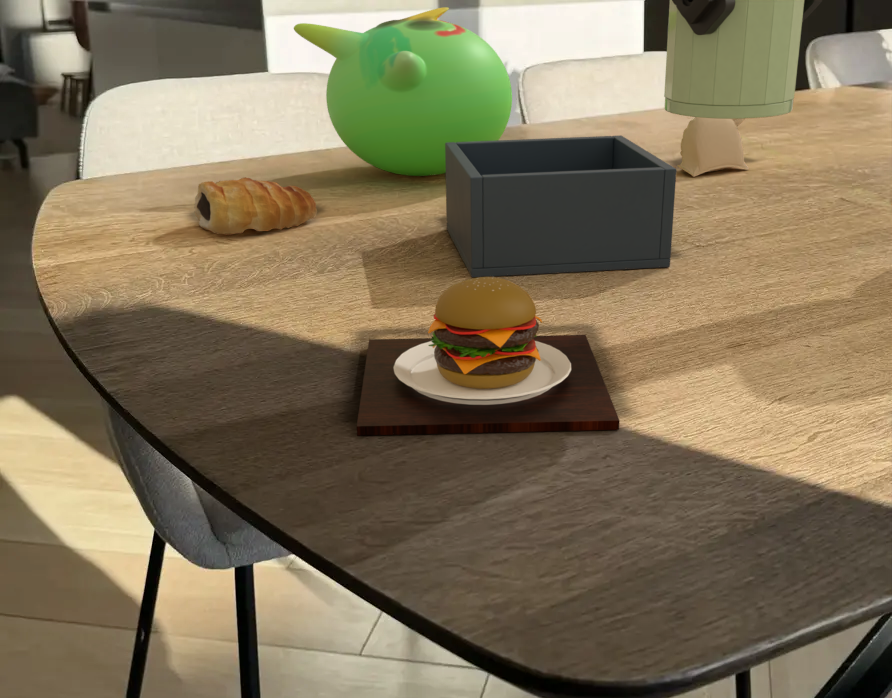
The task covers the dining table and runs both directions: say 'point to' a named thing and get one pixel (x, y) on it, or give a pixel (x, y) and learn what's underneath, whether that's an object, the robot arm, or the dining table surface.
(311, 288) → the dining table surface
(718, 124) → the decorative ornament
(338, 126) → the toy bird
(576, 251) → the bin
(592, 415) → the hamburger
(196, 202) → the pastry
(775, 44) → the tub
